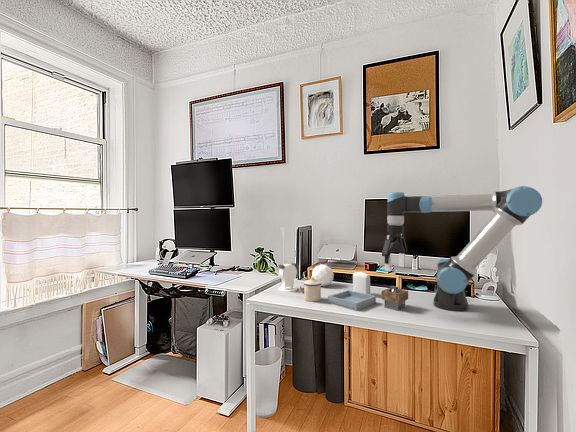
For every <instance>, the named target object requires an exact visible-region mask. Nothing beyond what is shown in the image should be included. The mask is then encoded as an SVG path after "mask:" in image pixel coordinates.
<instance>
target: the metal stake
mask: <svg viewBox="0 0 576 432" xmlns="http://www.w3.org/2000/svg"><path fill="white" fill-rule="evenodd" d="M389 288H390V289H392V292H395V293H398V289H399V286H396V285H395V286H394V285H390V286H389ZM384 308H386V309H390V310H393V311H401V310H402V309H406V300H405V301H403V302H401V303H396V302H392V301H388V300H384Z"/></svg>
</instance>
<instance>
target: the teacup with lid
mask: <svg viewBox="0 0 576 432" xmlns="http://www.w3.org/2000/svg"><path fill="white" fill-rule="evenodd" d="M302 287H304V288H303V290H304V291H303V290H302ZM298 289H299V293H301V294H302V295H303V296H304V298H303V299H304V300H305V301H306V302H311V303H315V302H319V301H321V300H322V299H321V297H322V293H321V292H322V290H321V289H322V286H321V282H320V281H317V280H316V279H314V277H312V276H311V277H310V278H308V280H305V281H304V283H303V284H301V285H300V286H299V287H298Z"/></svg>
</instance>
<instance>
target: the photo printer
mask: <svg viewBox="0 0 576 432" xmlns="http://www.w3.org/2000/svg"><path fill="white" fill-rule="evenodd" d="M352 291H355V292H359V293H364V294H368V295H371V276H370V275H369V274H368V273H366V272H363V271H358V272H357V271H356V272H353V274H352Z"/></svg>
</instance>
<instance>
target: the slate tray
mask: <svg viewBox="0 0 576 432" xmlns="http://www.w3.org/2000/svg"><path fill="white" fill-rule="evenodd" d="M376 298H377V296H375V295H372V294H370V295H368V294H364V293H359V292H355V291H353V290H349V289H347V290H343V291H340V292H336V293H334V294H333V293H332V294H331V295H328V296H327V303H328V304H330V305H333V306H337V307H341V308H345V309H347V310H352V311H355V312H357V311H359V310H362V309H365V308H368V307H369V306H372V305H375V304H376V303H377V299H376Z"/></svg>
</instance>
